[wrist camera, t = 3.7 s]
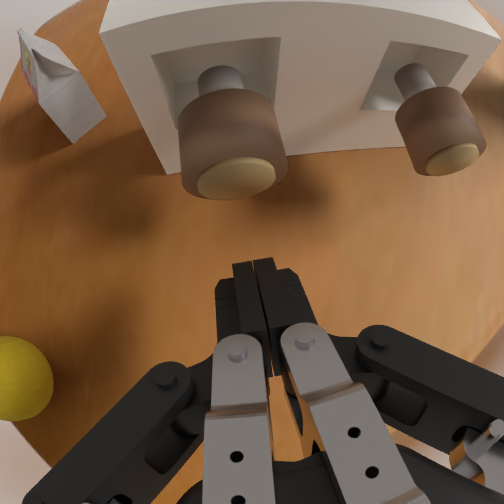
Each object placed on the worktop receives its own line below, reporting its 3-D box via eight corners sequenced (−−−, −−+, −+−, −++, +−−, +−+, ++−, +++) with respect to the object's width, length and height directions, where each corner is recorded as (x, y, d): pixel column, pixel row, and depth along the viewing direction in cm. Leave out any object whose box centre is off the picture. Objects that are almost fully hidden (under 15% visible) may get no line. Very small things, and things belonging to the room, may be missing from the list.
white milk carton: (79, 83, 24) (37, 13, 14) (106, 116, 23) (57, 34, 13) (50, 107, 24) (1, 42, 14) (73, 144, 22) (12, 70, 13)
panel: (397, 99, 24) (457, -10, 11) (418, 146, 22) (501, 39, 10) (164, 120, 23) (115, -16, 10) (167, 174, 22) (98, 33, 9)
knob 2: (424, 98, 17) (452, 56, 13) (460, 178, 15) (502, 143, 11) (368, 96, 17) (391, 46, 12) (403, 182, 15) (443, 140, 11)
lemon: (79, 411, 18) (10, 439, 10) (25, 406, 17) (-45, 423, 10) (67, 335, 19) (-9, 332, 11) (15, 337, 19) (-59, 332, 11)
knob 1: (261, 101, 16) (264, 44, 12) (284, 197, 15) (296, 148, 11) (183, 113, 16) (167, 58, 12) (192, 211, 15) (171, 167, 11)
